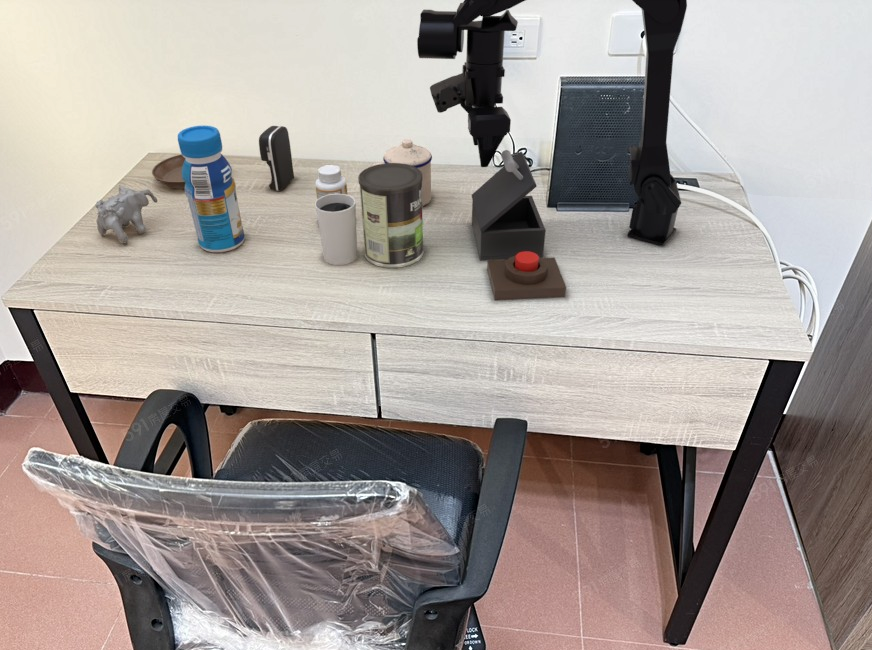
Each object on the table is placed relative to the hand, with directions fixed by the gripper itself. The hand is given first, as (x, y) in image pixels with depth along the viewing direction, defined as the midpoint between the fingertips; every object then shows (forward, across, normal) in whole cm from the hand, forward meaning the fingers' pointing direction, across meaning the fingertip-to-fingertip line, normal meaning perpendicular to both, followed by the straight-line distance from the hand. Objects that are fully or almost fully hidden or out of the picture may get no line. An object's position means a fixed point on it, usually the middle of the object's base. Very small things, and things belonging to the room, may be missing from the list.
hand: (480, 155), depth 121 cm
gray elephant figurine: (+13, -5, -64) cm, 65 cm away
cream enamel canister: (+13, -11, -13) cm, 22 cm away
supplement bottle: (+13, -4, -26) cm, 29 cm away
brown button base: (+13, +21, +5) cm, 25 cm away
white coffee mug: (+13, +9, -25) cm, 30 cm away
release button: (+10, +21, +5) cm, 23 cm away
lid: (+4, +7, +3) cm, 8 cm away
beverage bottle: (+13, +2, -46) cm, 48 cm away
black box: (+13, +7, +4) cm, 15 cm away
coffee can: (+13, +9, -16) cm, 22 cm away
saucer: (+13, -26, -57) cm, 64 cm away
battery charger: (+13, -21, -38) cm, 45 cm away
